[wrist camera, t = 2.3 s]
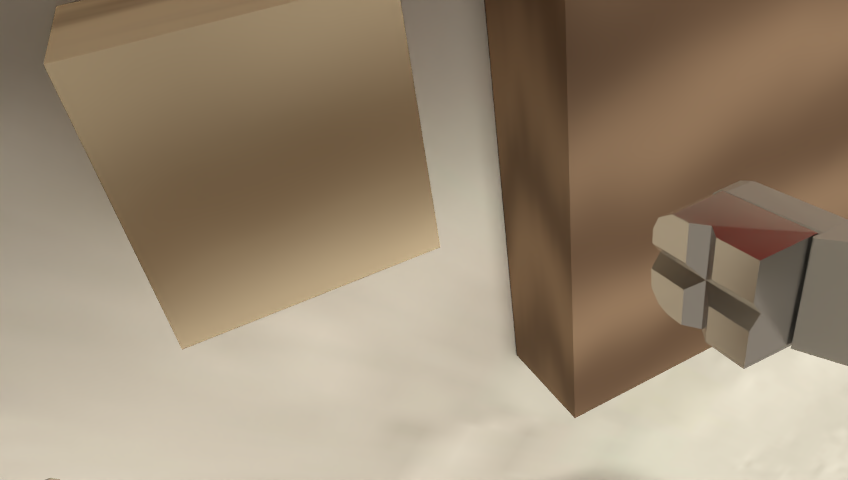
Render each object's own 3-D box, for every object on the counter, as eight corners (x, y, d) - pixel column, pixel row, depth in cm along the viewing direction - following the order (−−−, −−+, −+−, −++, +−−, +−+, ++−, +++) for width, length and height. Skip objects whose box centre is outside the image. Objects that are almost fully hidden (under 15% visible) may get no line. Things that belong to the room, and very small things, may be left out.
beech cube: (56, 5, 14) (43, 64, 10) (304, -52, 16) (396, -25, 11) (155, 225, 18) (182, 349, 13) (353, 158, 19) (440, 246, 15)
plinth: (480, -51, 18) (564, -37, 15) (866, -147, 23) (993, -152, 19) (516, 355, 27) (575, 417, 24) (790, 226, 31) (869, 264, 28)
